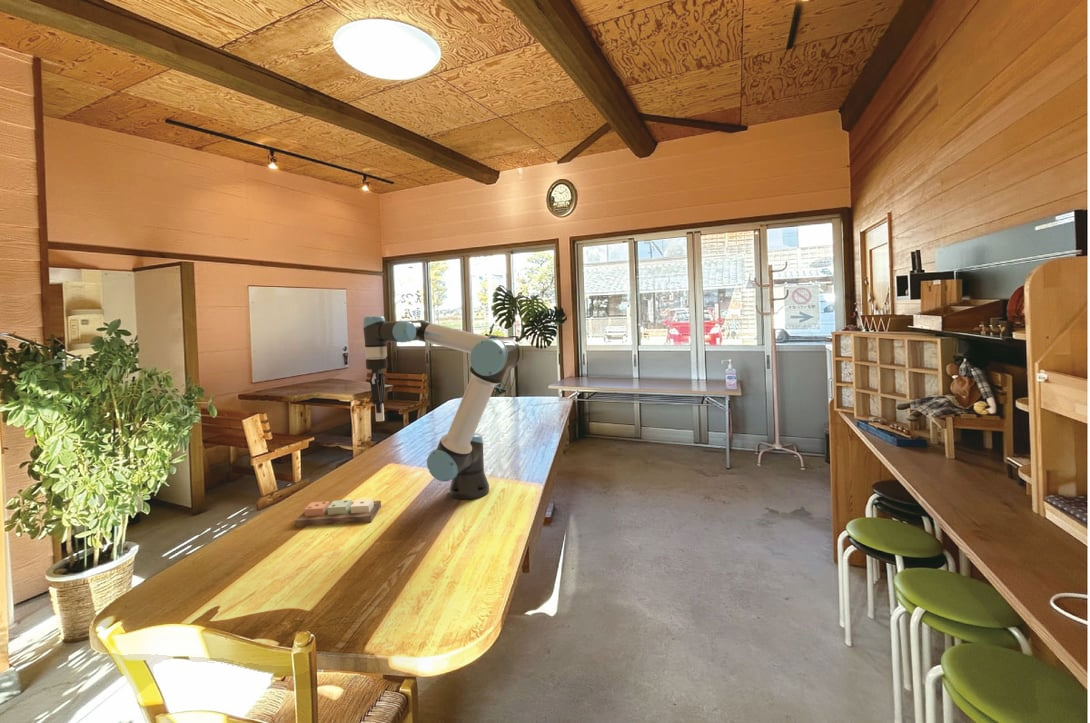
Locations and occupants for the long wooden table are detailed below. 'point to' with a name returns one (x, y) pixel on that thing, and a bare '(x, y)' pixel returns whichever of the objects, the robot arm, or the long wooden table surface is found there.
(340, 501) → the button two sage
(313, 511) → the button three terracotta
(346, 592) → the long wooden table surface
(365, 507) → the button one cream
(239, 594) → the long wooden table surface
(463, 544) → the long wooden table surface
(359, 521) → the brown wooden tray
